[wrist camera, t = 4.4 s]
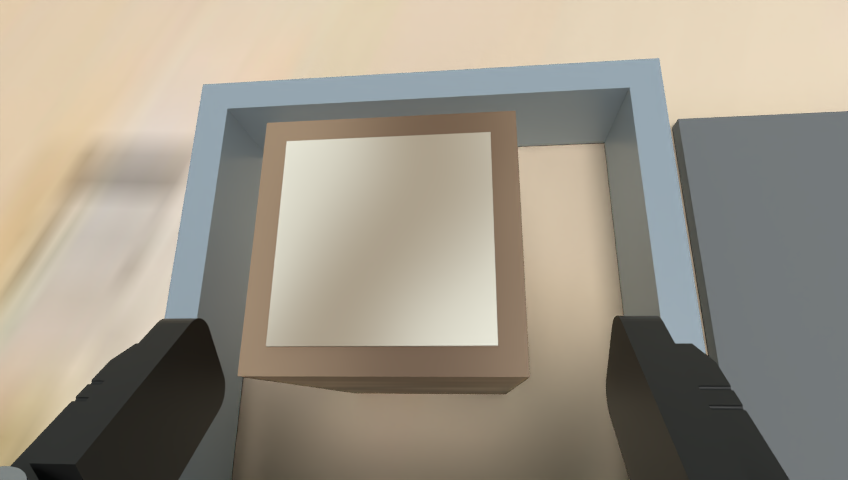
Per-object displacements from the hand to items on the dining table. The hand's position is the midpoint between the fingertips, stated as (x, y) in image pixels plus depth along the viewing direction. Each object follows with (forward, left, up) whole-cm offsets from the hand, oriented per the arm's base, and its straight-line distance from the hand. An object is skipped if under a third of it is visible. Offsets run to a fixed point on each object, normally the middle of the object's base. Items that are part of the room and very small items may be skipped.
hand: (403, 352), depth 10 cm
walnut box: (0, +2, -8) cm, 8 cm away
